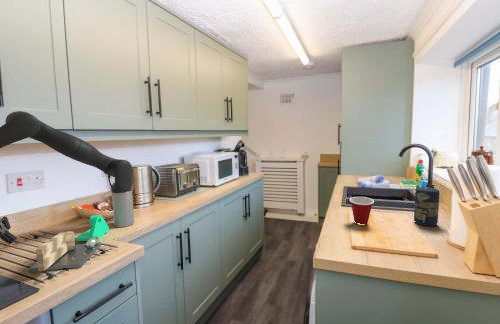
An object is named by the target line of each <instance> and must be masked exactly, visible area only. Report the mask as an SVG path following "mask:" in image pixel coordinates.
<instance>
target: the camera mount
mask: <svg viewBox="0 0 500 324" xmlns="http://www.w3.org/2000/svg"><path fill="white" fill-rule="evenodd" d="M88 222H89V225H90V226H91V228H90V229H88V230H86V231H84V232H83V233H81V234H79V235H77V236H76V237H75V242H87V241H88V240H89V239H90V238H92V237H93V236H97V237H98V238H100V239H101V238H104V237H105V236H104V235H105V234H106V233H107V232H109V231H110V227H109V225H108V223H107V222H106V220H105V219H104V217H103V216H102V215H99V214H98V215H97V214H96V215H91V216H90V217H89V220H88Z"/></svg>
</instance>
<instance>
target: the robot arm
mask: <svg viewBox="0 0 500 324" xmlns="http://www.w3.org/2000/svg"><path fill="white" fill-rule="evenodd" d="M25 139H32V140H35V141H38V142H40V143H42V144H43V145H45V146H48V147H49V148H51V149H53V150H54V151H56V152H57V153H59V154H61V155H63V156H65V157H67V158H69V159H71V160H74V161H76V162H79V163H82V164H84V165H88V166H91V167H93V168H96V169H98V170H100V171H101V172H103V173H104V174H107V175H108V176H110V177H112V178H114V185H112V186H111V188H110V191H111V192H110V193H111V201H112V213H113V225H114V227H116V228H125V227H130V226H132V225H134V223H135V215H134V212H135V211H134V201H133V189H132V188H133V184H134V175H133V174H134V173H133V171H134V170H133V165H132V164H131V162H130V161H128V160H127V159H117V158H114V157H112V156H108V155H106V154H103V153H102V152H101V151H99V150H98V149H97V148H96V147H95V146H94V145H92V144H90V143H89V142H87V141H85V140H83V139H82V138H79V137H77V136H74V135H73V134H70V133H67V132H64V131H62V130H59V129H56V128H54V127H52V126H50V125H48V124H47V123H44V122H43V121H41V120H40V119H39V118H37V117H36V116H35V115H33V114H31V113H29V112H27V111H21V110H17V111H12V112H10V113H8V115H7V116H6V118H5V123H4V124H2V125H1V126H0V149H2V148H5V147H7V146H9V145H11V144H14V143H17V142H20V141H22V140H25ZM11 228H12V227H11V225H10V221H9V219H8V217H7V216H2V217H0V240H2V241H3V242H4V243H7V244H9V245H11V244H13V243H14V242H15V241H17V239H18V238H17V236H15V235H14V234H13V233H11V232H10V229H11Z"/></svg>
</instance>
